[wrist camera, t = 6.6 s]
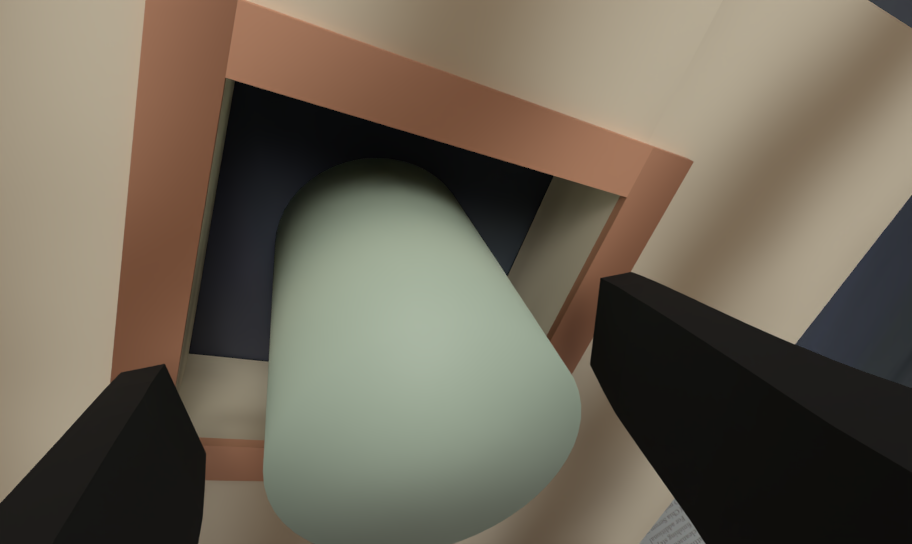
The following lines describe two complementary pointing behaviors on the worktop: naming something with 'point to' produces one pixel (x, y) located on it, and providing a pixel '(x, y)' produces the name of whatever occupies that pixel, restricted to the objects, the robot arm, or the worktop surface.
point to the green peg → (403, 368)
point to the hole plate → (455, 123)
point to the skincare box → (673, 528)
